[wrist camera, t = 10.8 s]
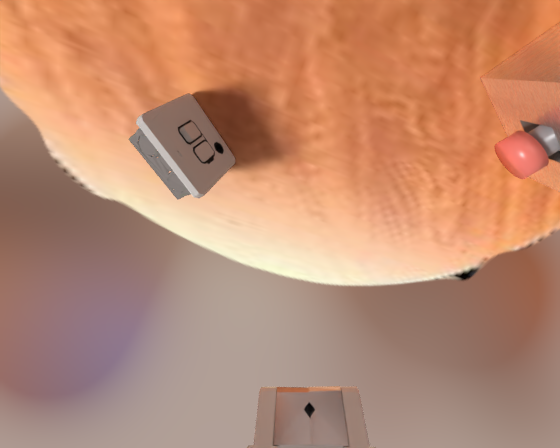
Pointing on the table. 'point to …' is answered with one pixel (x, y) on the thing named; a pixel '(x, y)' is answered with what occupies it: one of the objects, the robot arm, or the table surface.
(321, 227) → the table surface
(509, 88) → the box
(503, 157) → the breaker plunger
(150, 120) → the electrical switch
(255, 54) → the table surface
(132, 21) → the table surface
